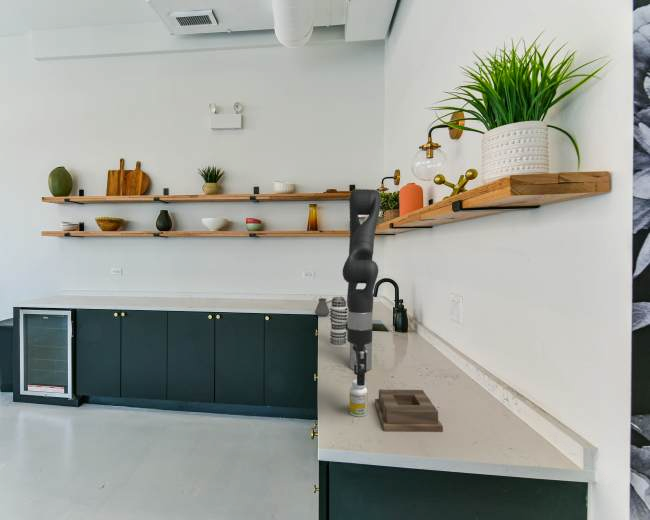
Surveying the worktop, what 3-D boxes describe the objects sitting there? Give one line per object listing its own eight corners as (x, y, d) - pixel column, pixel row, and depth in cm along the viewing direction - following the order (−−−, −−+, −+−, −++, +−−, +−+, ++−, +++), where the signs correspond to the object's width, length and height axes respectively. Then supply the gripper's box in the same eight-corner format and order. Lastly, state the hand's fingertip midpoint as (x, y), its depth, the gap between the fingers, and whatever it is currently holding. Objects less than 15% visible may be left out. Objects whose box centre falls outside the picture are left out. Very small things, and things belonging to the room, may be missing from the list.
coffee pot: (313, 316, 240) (313, 297, 240) (315, 313, 252) (316, 294, 251) (342, 317, 238) (342, 297, 238) (342, 314, 249) (343, 295, 249)
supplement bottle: (355, 406, 101) (356, 376, 101) (370, 412, 98) (371, 380, 97) (345, 413, 97) (346, 381, 97) (360, 419, 93) (361, 386, 93)
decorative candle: (346, 347, 163) (346, 299, 162) (328, 346, 164) (328, 298, 164) (347, 342, 172) (348, 296, 171) (330, 342, 173) (331, 296, 173)
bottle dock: (374, 403, 103) (375, 388, 103) (424, 403, 103) (424, 388, 103) (384, 431, 87) (384, 413, 87) (442, 431, 87) (443, 413, 87)
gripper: (345, 321, 104) (345, 371, 104) (349, 331, 89) (348, 389, 90) (368, 321, 104) (368, 371, 104) (376, 331, 89) (375, 389, 90)
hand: (359, 379), depth 97 cm, fingers open, 8 cm apart
